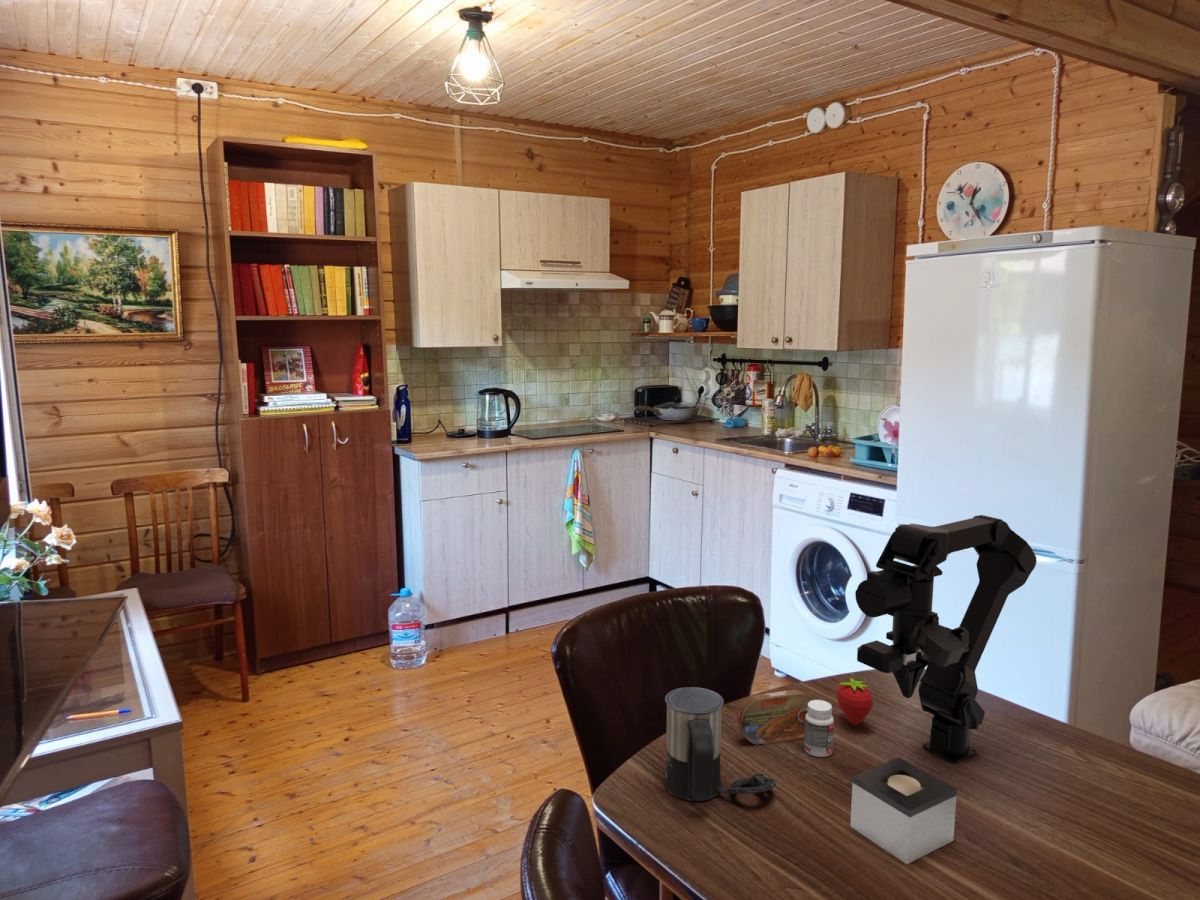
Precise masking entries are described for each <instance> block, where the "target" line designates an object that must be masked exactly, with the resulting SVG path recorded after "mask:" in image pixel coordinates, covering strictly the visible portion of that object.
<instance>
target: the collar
mask: <svg viewBox="0 0 1200 900" xmlns="http://www.w3.org/2000/svg"><path fill="white" fill-rule="evenodd" d="M894 775H905V776H909V777H912V778H914V779H915V780H917V781H918V782H919V783H920V785H921V788H920V791H918V792H916V793H913V794H911V795H909V796H906V795H904V794H902V793H901V792H899V791H897V790H896V789H894V788H892V787H890V786H889V785H888V779H889V777H891V776H894ZM851 788H852V789H851V803H850V804H851V805H850V807H851V808H850V828H852V829H853V830H855V832H858V833H859V834H860V835H862V836H864V837H865V838H867V839H868V840H870V841H871V842H873V843H874V844H875V845H877V846H879V847H880V848H882V849H883V850H884V851H886V852H887V853H889V854H891V855H892V856H894V857H895V858H896V859H897V860H899V861H901V862H903V863H904V864H905V865H909V864H911V863H913V862H914V861H916V860H919V859H921V858H922V857H924V856H926V855H928V854H930V853H932V852H933V851H936V850H939V849H940V848H942V847H943V846H945V845H947V844H949V843H951V842H954V836H955V822H956V811H957V810H956V809H957V795H958V788H956V787H954V786H953V785H951V784H949V783H947V782H945V781H943V780H942V779H939V778H937V777H936V776H934V775H932V774H930V773H928V772H927V771H925V770H923V769H921V768H920V767H917V766H916V765H914V764H912V763H910V762H909V761H908V760H907V761H906V760H905V759H903V758H901V757H896V758H894V759H892V760H889V761H887V762H884V763H881V764H879V765H877V766H874V767H872V768H870V769H867V770H865V771H863V772H860V773H857V774H856V775H852V786H851Z"/></svg>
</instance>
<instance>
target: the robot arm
mask: <svg viewBox="0 0 1200 900" xmlns="http://www.w3.org/2000/svg"><path fill="white" fill-rule="evenodd" d="M971 548H973V550H974V551H975V552H976V554H977V555H978V558H977V561H976V563H975V564H976V570H977V575H978V584H977V586H976V588H975V591H974V592H973V596H972V597H971V600H970V602H969V604H968V606H967V608H966V611H965V612H964V615H963V618H962V619H961V621H960V624H959V626H957V627H955V628H950V627H947V626H944V625H941V624H940V617H939V616H938V613H937V612H935V611H933V601H934V600H933V598H934V581H935V577H939V576H942V575H943V572H944V571H943V570H942V569H941V568H939V567H938V565H940V564H942V563H945V561H947V559H948V555H950V554H952V553H956V552H960V551H964V550H967V549H971ZM879 556H880V557H879V558H878V560H877V561H876V563H875V567H876V568H878V569H881V570H877V571H875V570H872V571H868V572H867V574H866V575H867V576H866V579H865V580H862V581H861V582H860V583H859V584H858V585H857V588H856V590H855V593H854V595H855V600H856V604H857V606H858V607H857V608H858V609H860V611H861V613H863V614H864V615H865V616H867V617H869V618H878V617H881V616H886V615H889V616H891V617H892V630H891V631H887V632H886V633H885V634H886V635H885V639H887V640H889V641H891V642H892V644H890V645H889V644H887V643H884V642H882V641H879V640H878V639H877V640H873V641H869V642H867V643H863V644H861V645H860V646H859V647H857V649H856V651H857V653H856V661H857V662H859V663H861V664H863V665H865V666H868V667H870V668H872V669H874V670H877V671H878V672H881V673H884V674H891V673H892V674H893V677H894V678H895V681H896V683H897V684H898V685H897V686H898V688H899V690H900V692H901V694H902V696H903V697H904V698H905V699H906V698H907V699H910V698H912V697H913V695H914V693H915V690H916V689H917V687H918V690H917V691H918V696H919V701H920V705H921V710H922V711H923V712H926V713H928V714H930V715H933V716H932V717H931V727H930V732H929V733H930V734H929V735H930V736H929V740H928V741H927V742H925V743H923V744H922V748H923V749H925V750H926V751H928V752H931V753H932V754H935V755H937V756H938V757H940V758H942V759H943V760H945V761H948V762H950V763H952V764H957V763H960V762H961V761H963V760H965V759H968V758H971V757H972V756H974V755H977V754H978V750H977V749H976V748H973V747H971V746H970V739H971V738H970V736H971V730H979V726H980V725H982V724H983V721H984V717H985V713H986V712H985V710H984V708H982V706H981V705H980V704H979V703H978V701H977V700H976V698H977V694H978V692H979V687H978V682H977V676H976V669H977V667H978V665H979V663H980V660H981V658H982V656H983V653H984V651H985V648H986V646H987V645H988V642H989V640H990V638H991V636H992V633H993V631H994V629H995V626H996V624H997V621H998V619H999V617H1000V614H1001V612H1002V610H1003V608H1004V606H1005V604H1006V601H1007V599H1008V596H1009V595H1010V594H1011V593H1013V592H1015V591H1017V590H1018V589H1020V588H1021V587H1022V586H1024V585H1025V584H1026V582H1027V581H1028V579H1029V577H1030V575H1031V574H1032V572H1033V571H1034V569H1035V568H1036V565H1037V556H1036V553H1035V552H1034V550H1033V548H1032V547H1031V546H1030V544H1029V543H1028V541H1027V540H1025V539H1024V538H1023V537H1021V536H1020V535H1019V534H1018V533H1017V532H1015V531H1013V530H1012V529H1011V527H1010V526H1009V524H1008V523H1007V522H1006V521H1004V520H1003V519H1001V518H996V517H992V516H988V515H985V514H984V515H983V514H980V515H974V516H973V517H972V518H967V519H962V520H957V521H954V522H950V523H946V524H941V525H936V526H928V525H927V526H926V525H920V524H907V523H906V524H901V525H898V526H897V527H896V528H894V531H893V532H892V534H891V535H890V537H889V539H888V541H887V542H886V544H885V546H884V548H883V550H882V552H881V555H879ZM895 559H896V560H898V561H896V560H895ZM900 561H902V562H900ZM903 562H905V563H903ZM907 563H909V564H907ZM910 564H912V565H910ZM925 668H926V669H925ZM924 670H925V671H924ZM921 676H922V677H921ZM919 682H920V683H919ZM918 683H919V685H918Z"/></svg>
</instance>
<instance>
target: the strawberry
mask: <svg viewBox="0 0 1200 900" xmlns="http://www.w3.org/2000/svg"><path fill="white" fill-rule="evenodd" d="M850 675H851V677H850V678H849V681H848V682H845V681H841V682H839V683H838V685H839V686H838V688H837V692H836V698H837V702H838V705H839V708H840V709H841V711H842V712H843V715H844V716H845V717H846V719H847V720H848V721H849V723H850V724H851V725H852V726H854V727H855V726H858V725H859V724H860V723H861V722H862V721H863V720H865V719H866V717H867V716H868V714H869V713H870V712H871V711H872V708H873V705H874V700H873V695H872V693H871V691H869V689H868V688H869V687H870V686H869V685H866V684H864V683H867V681H866V680H865V681H863V680H862V681H860V680H859V681H858V680H856V678H855V676H854V675H853V674H852V673H850ZM852 677H853V678H852Z"/></svg>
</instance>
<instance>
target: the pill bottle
mask: <svg viewBox="0 0 1200 900" xmlns="http://www.w3.org/2000/svg"><path fill="white" fill-rule="evenodd" d="M807 711H808V713H807V714H806V716H805V738H804V751H805V752H806V753H807V754H808V755H810V756H813V757H816V758H817V757H818V758H825V757H829V756H830V755H832V753H833V747H834V725H835V724H834V723H835V722H834V721H835V720H834V717H833V715H832V714H833V706H832V704H831V703H830V702H828V701H825V700H822V699H814V700H812V701H810V702H809V703H808V708H807Z"/></svg>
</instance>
